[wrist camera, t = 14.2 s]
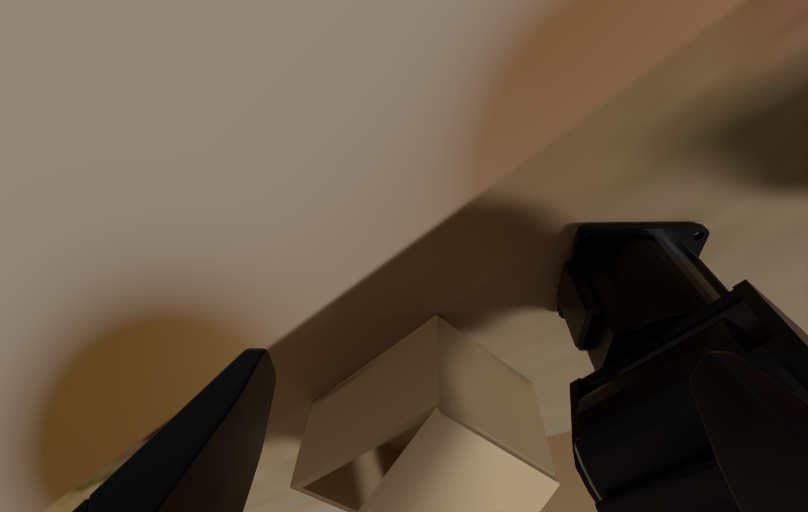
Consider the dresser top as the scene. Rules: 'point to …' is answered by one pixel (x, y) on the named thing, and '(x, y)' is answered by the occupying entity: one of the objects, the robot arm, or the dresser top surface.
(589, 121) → the dresser top surface
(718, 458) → the robot arm
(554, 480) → the carton lid
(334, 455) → the carton
